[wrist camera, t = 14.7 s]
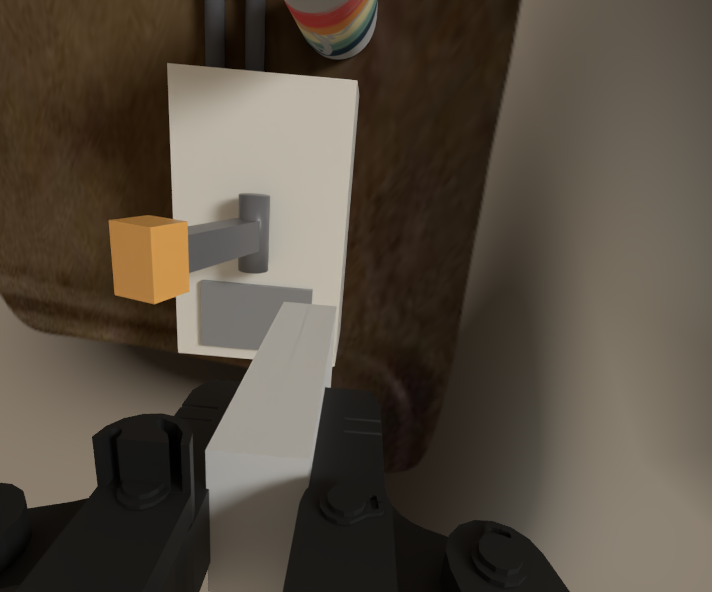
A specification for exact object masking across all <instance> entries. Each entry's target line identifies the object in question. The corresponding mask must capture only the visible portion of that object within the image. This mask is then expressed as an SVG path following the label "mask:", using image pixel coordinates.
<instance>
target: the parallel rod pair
mask: <svg viewBox="0 0 712 592" xmlns="http://www.w3.org/2000/svg"><path fill="white" fill-rule="evenodd" d="M204 5H205V67H215V68H225V0H204ZM265 7H266V0H246V33H245V70H248V71H259V72H264V53H265Z"/></svg>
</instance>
